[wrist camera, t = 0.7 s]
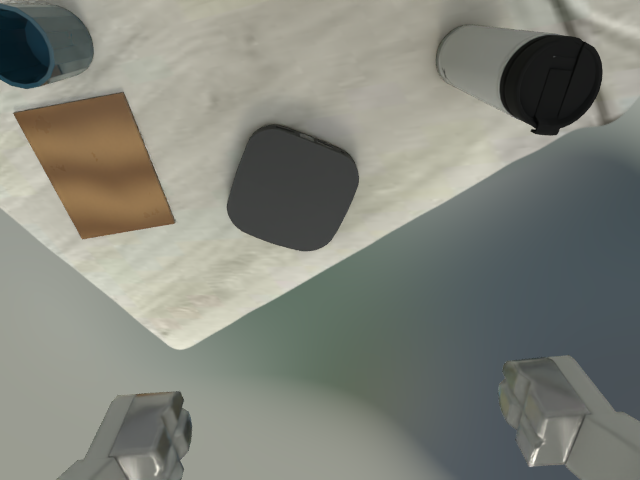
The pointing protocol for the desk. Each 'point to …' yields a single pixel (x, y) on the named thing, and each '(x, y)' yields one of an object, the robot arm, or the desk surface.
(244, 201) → the media streaming box
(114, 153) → the brown flat rectangular board
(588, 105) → the travel mug
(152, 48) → the desk surface
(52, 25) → the cup
